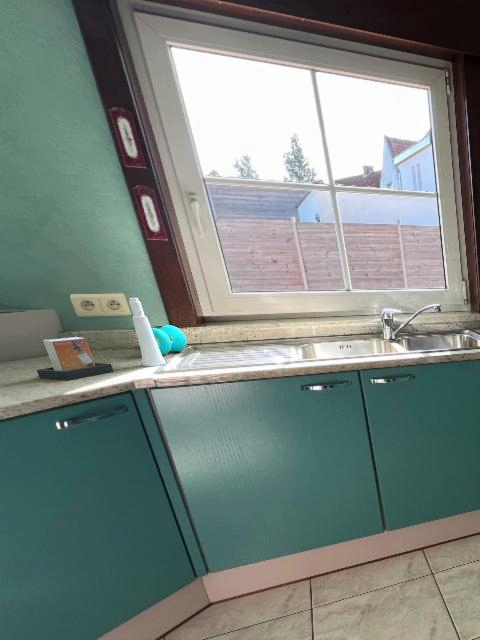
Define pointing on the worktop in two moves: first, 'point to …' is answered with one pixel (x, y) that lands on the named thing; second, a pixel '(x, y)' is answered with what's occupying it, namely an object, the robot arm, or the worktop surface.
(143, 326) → the cosmetic bottle
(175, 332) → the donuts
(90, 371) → the black tray
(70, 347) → the small box
